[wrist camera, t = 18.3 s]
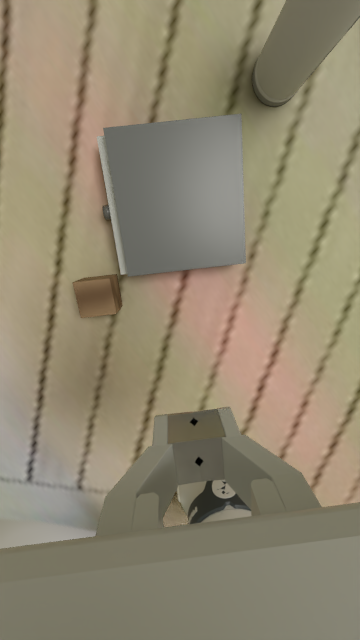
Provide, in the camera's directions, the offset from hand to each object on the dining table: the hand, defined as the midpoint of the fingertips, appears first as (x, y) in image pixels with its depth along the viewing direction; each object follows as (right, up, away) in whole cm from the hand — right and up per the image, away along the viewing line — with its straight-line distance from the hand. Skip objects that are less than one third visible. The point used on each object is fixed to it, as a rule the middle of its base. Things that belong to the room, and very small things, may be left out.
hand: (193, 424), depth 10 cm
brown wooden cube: (-12, +9, +29) cm, 33 cm away
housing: (-1, +21, +26) cm, 33 cm away
